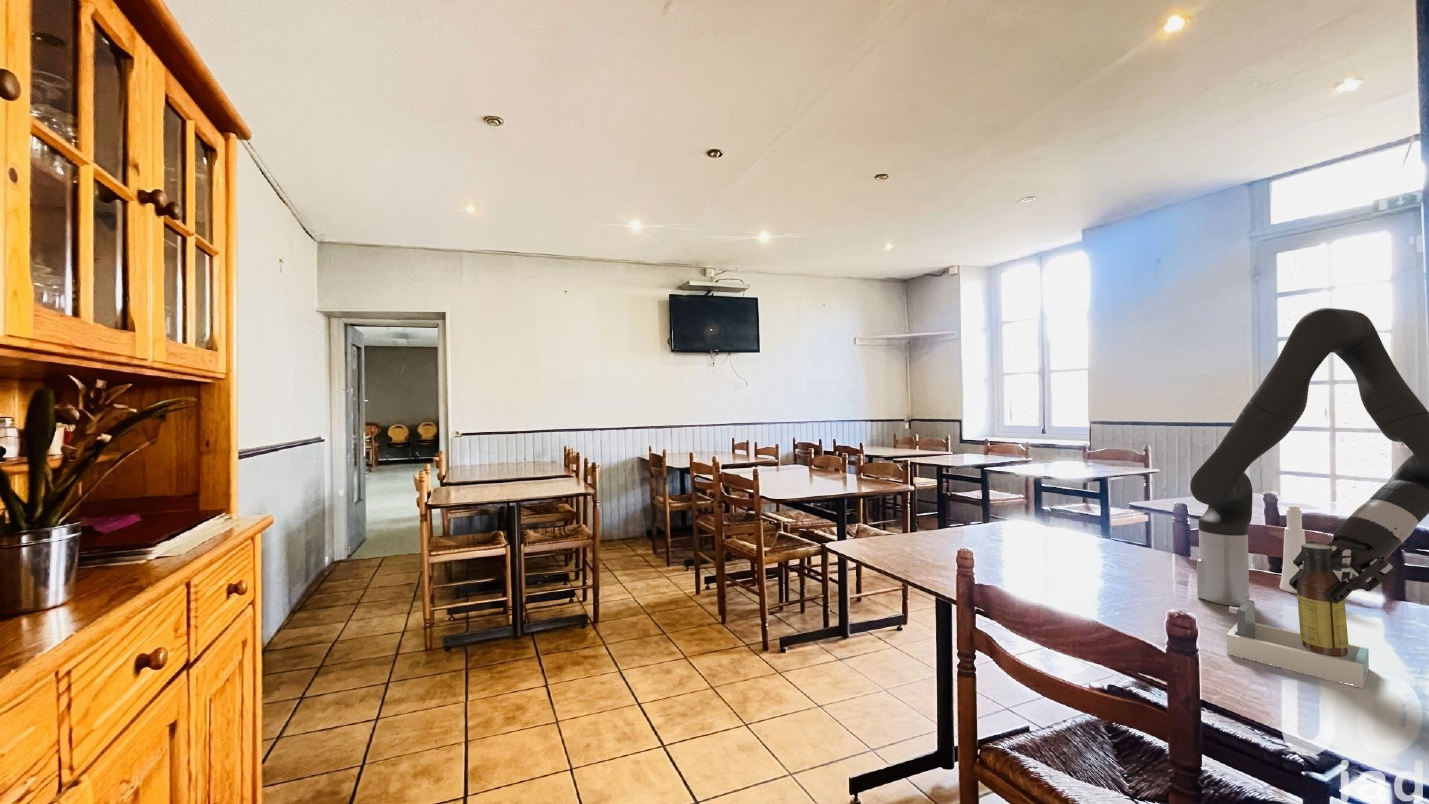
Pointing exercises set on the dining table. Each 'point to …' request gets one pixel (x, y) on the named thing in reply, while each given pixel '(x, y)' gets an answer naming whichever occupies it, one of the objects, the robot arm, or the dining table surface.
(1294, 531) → the cosmetic bottle
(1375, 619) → the dining table surface
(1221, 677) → the dining table surface
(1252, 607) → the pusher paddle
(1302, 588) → the sauce bottle
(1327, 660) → the pusher lane
